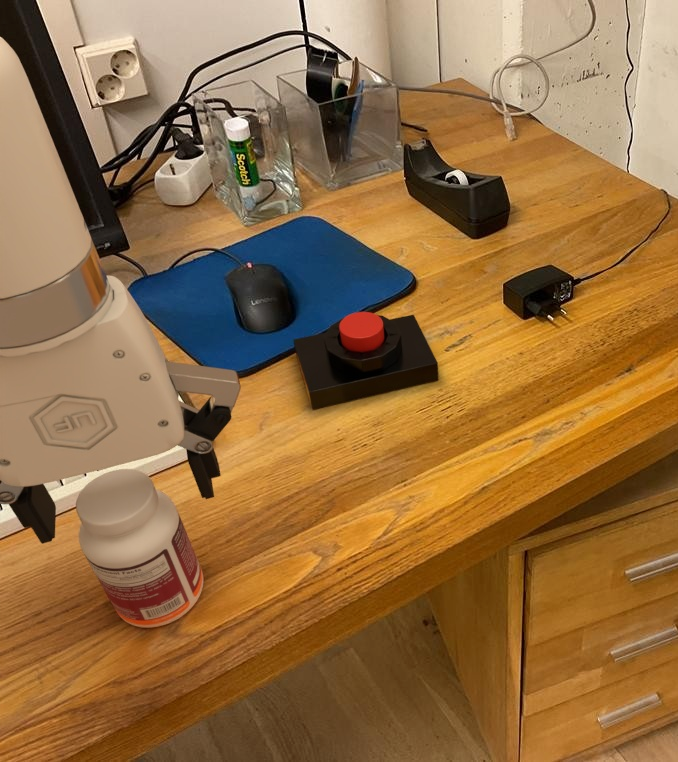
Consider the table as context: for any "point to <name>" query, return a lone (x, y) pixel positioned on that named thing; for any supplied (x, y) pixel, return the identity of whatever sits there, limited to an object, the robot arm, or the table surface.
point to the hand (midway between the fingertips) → (130, 503)
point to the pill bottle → (138, 548)
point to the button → (361, 331)
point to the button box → (364, 363)
